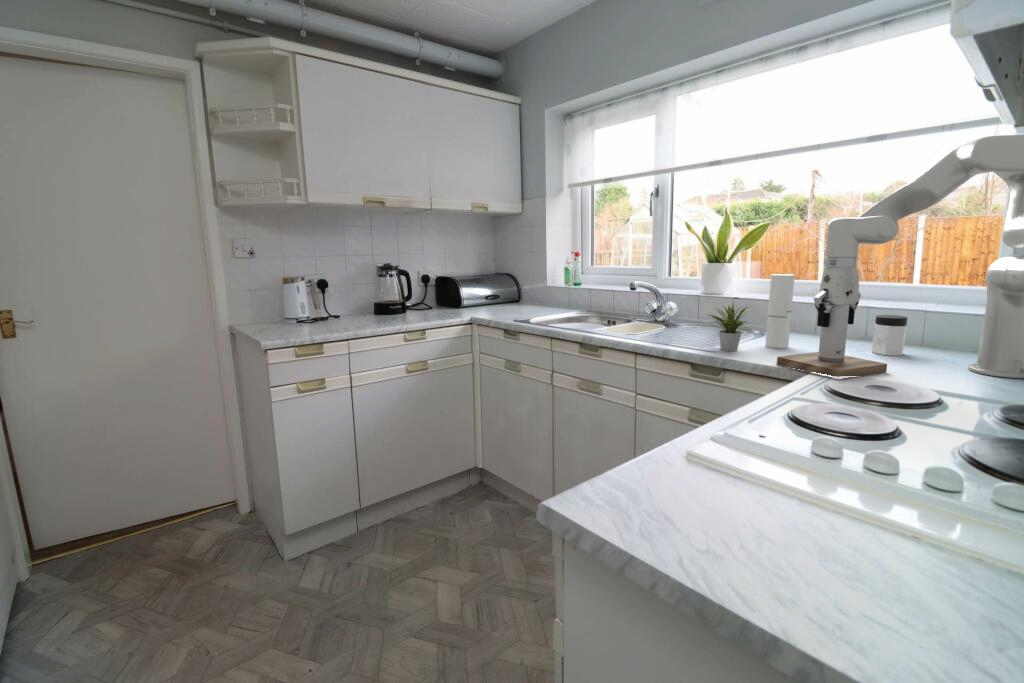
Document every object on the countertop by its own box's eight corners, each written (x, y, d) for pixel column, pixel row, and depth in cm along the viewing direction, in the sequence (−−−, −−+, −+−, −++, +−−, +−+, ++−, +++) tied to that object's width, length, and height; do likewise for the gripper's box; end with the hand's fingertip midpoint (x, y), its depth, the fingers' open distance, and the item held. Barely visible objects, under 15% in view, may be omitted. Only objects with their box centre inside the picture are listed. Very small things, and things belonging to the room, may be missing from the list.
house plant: (731, 344, 181) (734, 299, 178) (762, 351, 168) (766, 302, 165) (699, 347, 176) (702, 301, 173) (729, 354, 163) (733, 305, 160)
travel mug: (844, 363, 138) (851, 291, 135) (816, 360, 142) (823, 290, 139) (846, 359, 143) (853, 289, 140) (819, 356, 147) (825, 288, 144)
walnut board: (886, 372, 138) (887, 363, 137) (838, 379, 131) (839, 370, 131) (822, 358, 155) (822, 351, 155) (776, 364, 148) (777, 356, 148)
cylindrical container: (793, 347, 174) (799, 274, 169) (777, 349, 171) (784, 275, 166) (775, 343, 180) (781, 273, 176) (760, 345, 178) (766, 274, 173)
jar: (864, 351, 165) (868, 315, 163) (882, 349, 168) (887, 314, 166) (891, 356, 157) (896, 319, 155) (910, 354, 159) (915, 317, 157)
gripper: (831, 265, 131) (826, 329, 134) (875, 262, 137) (869, 324, 140) (805, 264, 138) (801, 326, 141) (849, 262, 144) (843, 321, 147)
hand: (835, 325), depth 141 cm, fingers open, 9 cm apart
